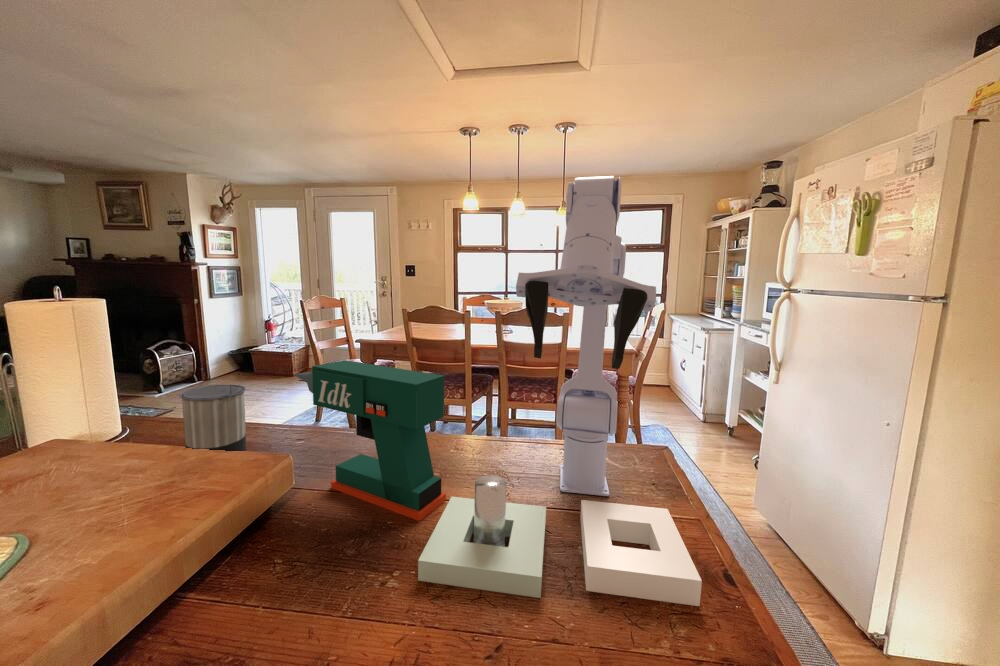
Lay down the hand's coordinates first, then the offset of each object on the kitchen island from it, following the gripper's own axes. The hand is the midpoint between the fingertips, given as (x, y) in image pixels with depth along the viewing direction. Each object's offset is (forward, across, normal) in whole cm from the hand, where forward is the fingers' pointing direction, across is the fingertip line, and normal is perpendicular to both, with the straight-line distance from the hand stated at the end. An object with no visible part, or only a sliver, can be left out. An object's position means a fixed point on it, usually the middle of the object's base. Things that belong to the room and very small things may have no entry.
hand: (576, 358), depth 39 cm
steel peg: (+17, -8, +23) cm, 30 cm away
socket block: (+17, -8, +23) cm, 30 cm away
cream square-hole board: (+14, +10, +24) cm, 30 cm away
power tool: (+12, -33, +34) cm, 48 cm away
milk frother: (+16, -60, +32) cm, 70 cm away
